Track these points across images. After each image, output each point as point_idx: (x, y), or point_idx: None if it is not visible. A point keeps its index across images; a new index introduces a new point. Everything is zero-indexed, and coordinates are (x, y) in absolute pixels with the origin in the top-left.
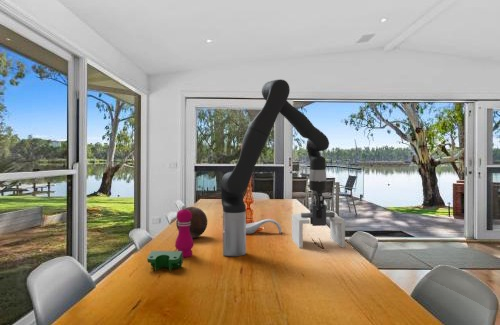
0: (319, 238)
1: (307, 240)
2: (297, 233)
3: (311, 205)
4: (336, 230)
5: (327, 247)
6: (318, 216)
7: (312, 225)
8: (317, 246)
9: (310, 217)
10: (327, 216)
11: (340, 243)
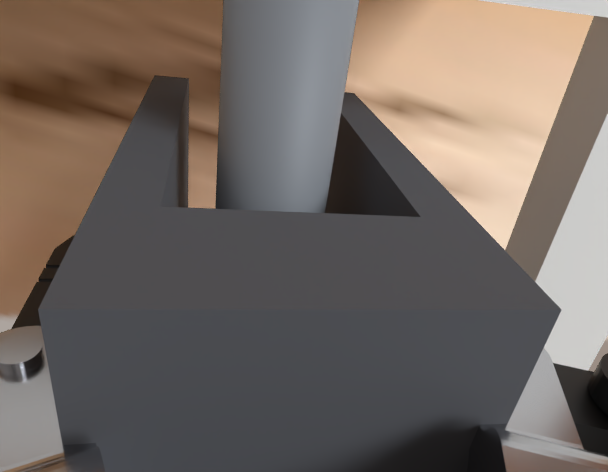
0: (450, 190)
1: (406, 42)
2: None
3: (317, 295)
4: None
5: (55, 148)
6: (59, 249)
7: (175, 78)
8: (101, 58)
9: (368, 128)
10: None
11: None
